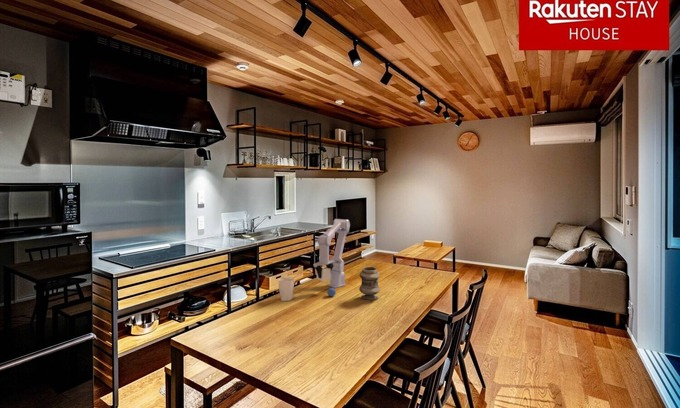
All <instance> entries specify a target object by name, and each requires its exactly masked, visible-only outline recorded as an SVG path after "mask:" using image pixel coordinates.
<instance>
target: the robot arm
mask: <svg viewBox="0 0 680 408" xmlns="http://www.w3.org/2000/svg"><path fill="white" fill-rule="evenodd" d="M332 223H333V225H332V226H331V227H330V228H328V229H326V231H325V232H324V233H323V234H321V235H319V236H318V238H317V244H318V248H319V261H317V262H315V263H313V267H314V269H315V270H316V275H317V274H318V278H321V275H322V267H324V266H325V267H327V268H330V280H329V283H328V284H327V286H328V287H330V288H334V289H335V288H336V289H337V288H340V287H344V286H346V285H347V284H346V277H345V276H346V275H345V272H344V268H345V261H344V260H343V259H342V256H343V251H344V248H345V247H344V246H345V242H346V237H347V234H348V233H350V227H351V222H350V220H349V219H342V218H334V220H333V222H332ZM336 233H337V234H338V236H337V240H336V245H335V250H334V252H333V256H332V257H330V245H331V242H332V239H333V238H334V237H335V235H336Z"/></svg>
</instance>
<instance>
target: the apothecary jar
mask: <svg viewBox="0 0 680 408" xmlns="http://www.w3.org/2000/svg"><path fill="white" fill-rule="evenodd" d="M380 275H381V274H380V273H379V271H378V268H377V267H376V266H364V267H362V269H361V271H360V273H359V277H360V279H361V283H360V284H361V285H360V286H359V287H358V288H359V289H358V290H359V292H360V293H361V294H363V295H362V296H361V297H360V299H361V300H362V301H366V302H375V301H377V300H378V299H379V298H378V296H377V295H378V293H380V291H381V287H380V286H379V283H378V281H379V278H380Z"/></svg>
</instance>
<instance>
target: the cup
mask: <svg viewBox="0 0 680 408" xmlns="http://www.w3.org/2000/svg"><path fill="white" fill-rule="evenodd" d="M294 286H295V278H294V277H292V276H282V277H280V278H279V279H278V290H279V296H280V301H282V302H289V301H292V300H293V297H294V288H295V287H294Z"/></svg>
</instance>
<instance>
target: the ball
mask: <svg viewBox="0 0 680 408" xmlns="http://www.w3.org/2000/svg"><path fill="white" fill-rule="evenodd" d="M326 292H327V295H328V296H329V297H335V295H336V293H337V290H336V289H335V288H333V287H329V288H328V289H327V291H326Z"/></svg>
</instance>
